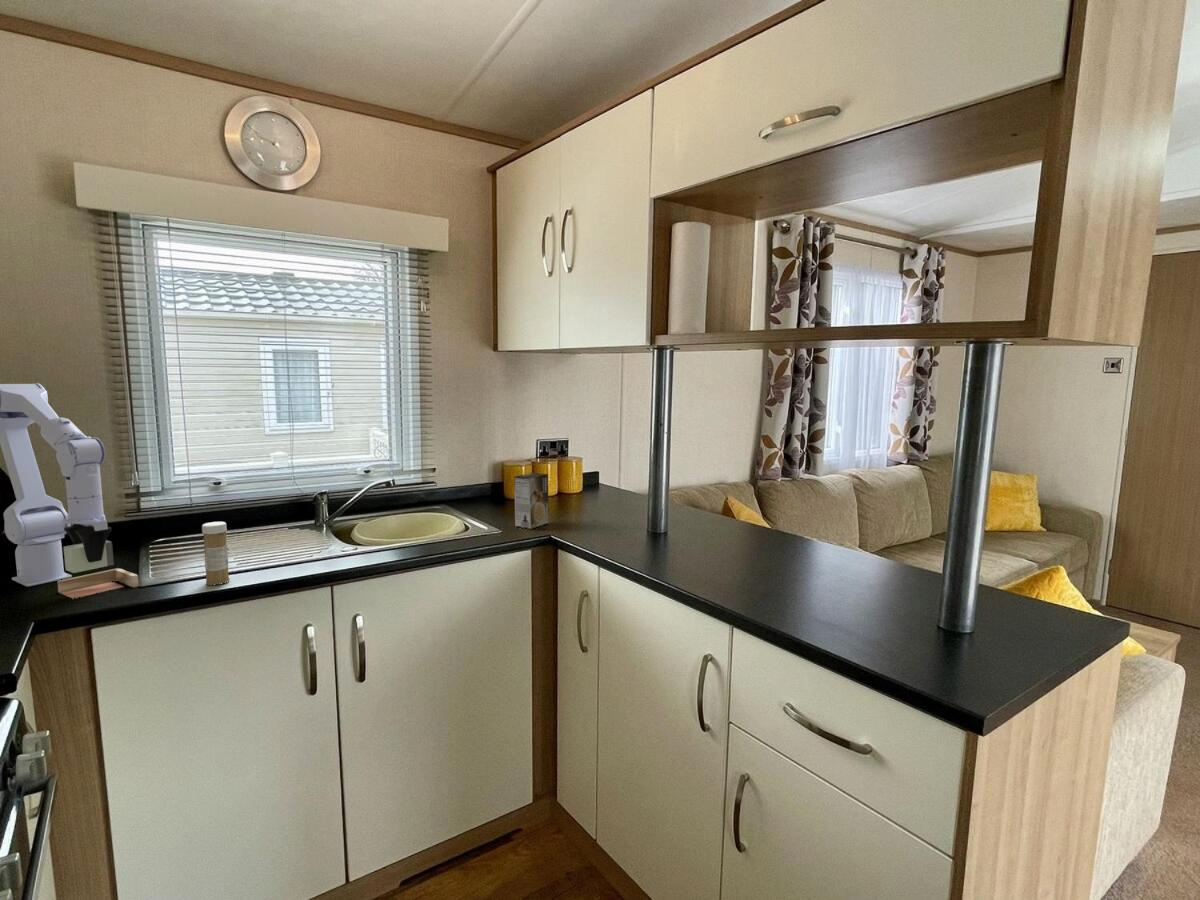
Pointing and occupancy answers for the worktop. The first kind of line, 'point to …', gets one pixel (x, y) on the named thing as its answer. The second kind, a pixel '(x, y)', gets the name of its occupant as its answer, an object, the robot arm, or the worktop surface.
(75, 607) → the worktop surface
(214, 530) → the sprinkles bottle
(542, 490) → the coffee box
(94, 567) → the sage block
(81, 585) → the corner arena
